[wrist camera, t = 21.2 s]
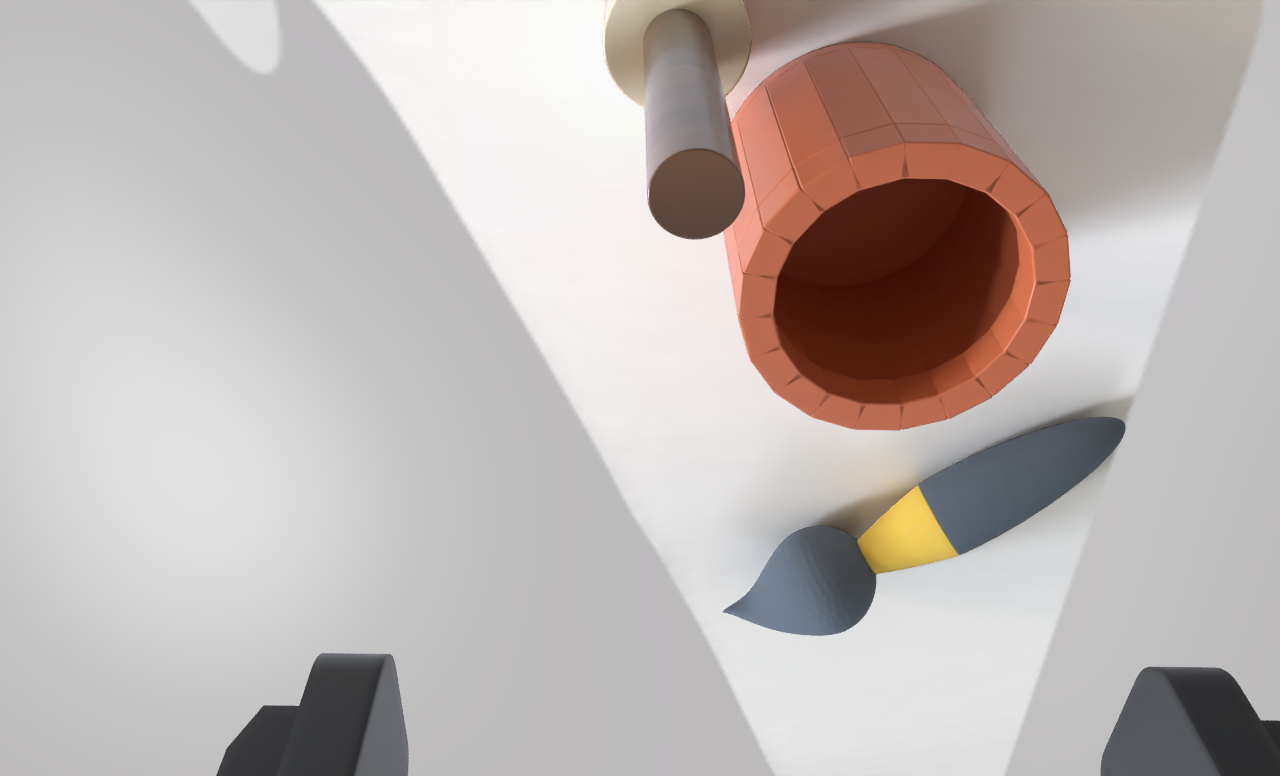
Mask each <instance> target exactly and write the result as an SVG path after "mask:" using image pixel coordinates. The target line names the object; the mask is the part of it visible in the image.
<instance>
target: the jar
mask: <svg viewBox="0 0 1280 776" xmlns="http://www.w3.org/2000/svg"><path fill="white" fill-rule="evenodd" d="M731 126H732V131H733V135H734V139H735V144H736V148H737V153H738V157H739V161H740V166H741V170H742V175H743V179H744V183H745V200H744V204H743V208H742V210H741V212H740V214H739V215H738V217H737V218H736V220H735V221H734V222H733V223H732V224H731V225H730V226H729V227H728V228H727V229H725V230H724V231H723V233H724V238H725V244H726V250H727V256H728V262H729V268H730V274H731V280H732V286H733V292H734V297H735V303H736V309H737V315H738V321H739V324H740V328H741V331H742V335H743V338H744V342H745V346H746V349H747V353H748V356H749V357H750V361H751V362H752V364H753V365H754V366H755V368H756V369H757V370H758V372H759V373H760V374H761V376H762V377H763V378H764V380H765V381H766V382H767V384H768V385H769V386H770V388H771V389H772V390H773V392H775V393H776V394H777V395H779V396H780V397H782V398H783V399H785V400H786V401H788V402H789V403H791V404H792V405H794V406H795V407H797V408H798V409H800V410H801V411H803V412H804V413H806V414H807V415H809V416H811V417H812V418H816V419H819V420H823V421H826V422H829V423H833V424H836V425H840V426H843V427H847V428H850V429H856V430H900V429H908V428H912V427H916V426H921V425H925V424H929V423H934V422H938V421H942V420H946V419H947V418H949V419H950V418H952V417H954V416H956V415H958V414H960V413H962V412H964V411H966V410H968V409H970V408H972V407H974V406H976V405H978V404H980V403H982V402H984V401H986V400H988V399H990V398H992V396H994V395H995V394H997V393H998V392H999V391H1000V390H1001V389H1002V388H1004V387H1005V386H1006V385H1007V384H1008V383H1009V382H1011V381H1012V380H1013V379H1014V378H1015V377H1016V376H1018V375H1019V374H1020V373H1021V372H1022V371H1023V370H1025V369H1026V368H1027V367H1028V366H1029V364H1031V363H1032V362H1033V360H1034V359H1035V357H1036V356H1037V354H1038V353H1039V351H1040V350H1041V348H1042V347H1043V346H1044V344H1045V343H1046V341H1047V340H1048V338H1049V337H1050V335H1051V334H1052V332H1053V331H1054V329H1055V328H1056V326H1057V324H1058V322H1059V318H1060V315H1061V312H1062V308H1063V305H1064V301H1065V298H1066V295H1067V291H1068V288H1069V285H1070V277H1071V275H1070V260H1069V245H1068V235H1067V230H1066V228H1065V226H1064V224H1063V222H1062V220H1061V218H1060V216H1059V214H1058V212H1057V210H1056V208H1055V206H1054V204H1053V202H1052V200H1051V198H1050V196H1049V194H1048V193H1047V192H1046V190H1045V189H1044V188H1043V186H1042V185H1041V184H1040V183H1039V182H1038V180H1037V179H1036V178H1035V177H1034V176H1033V174H1032V173H1031V172H1030V171H1029V170H1028V168H1027V167H1026V166H1025V165H1024V163H1023V162H1022V161H1021V160H1020V159H1019V157H1018V156H1017V155H1016V154H1015V153H1014V151H1013V150H1012V149H1011V148H1010V147H1009V145H1008V144H1007V143H1006V142H1005V141H1004V139H1003V138H1002V137H1001V136H1000V135H999V133H998V132H997V131H996V130H995V129H994V127H993V126H992V125H991V124H990V123H989V121H988V120H987V119H986V118H985V117H984V115H983V114H982V113H981V112H980V111H979V109H978V108H977V107H976V106H975V105H974V103H973V102H972V101H971V100H970V99H969V97H968V96H967V95H966V94H965V92H964V91H963V90H962V89H961V88H960V87H959V86H957V85H956V84H955V83H954V82H953V81H952V80H951V79H950V78H949V77H948V76H947V74H946V73H945V72H943V71H942V70H941V69H940V68H938V67H937V66H936V65H935V64H933V63H932V62H930V61H929V60H927V59H925V58H923V57H922V56H920V55H918V54H916V53H913V52H911V51H908V50H906V49H903V48H900V47H896V46H892V45H887V44H882V43H871V42H856V43H844V44H839V45H833V46H828V47H825V48H822V49H818V50H815V51H812V52H810V53H807V54H805V55H803V56H801V57H799V58H796V59H794V60H793V61H791V62H789V63H788V64H786V65H784V66H783V67H781V68H779V69H778V70H777V71H775V72H774V73H773V74H772V75H770V76H769V77H768V78H767V79H765V80H764V81H763V82H762V83H761V84H760V85H759V86H758V87H757V88H756V89H755V90H754V91H753V92H752V93H751V94H750V96H749V97H748V98H747V100H746V101H745V102H744V103H743V105H742V106H741V107H740V109H739V111H738V112H737V114H736V116H735V117H734V119H733V121H732V122H731Z"/></svg>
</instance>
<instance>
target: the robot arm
mask: <svg viewBox="0 0 1280 776" xmlns="http://www.w3.org/2000/svg"><path fill="white" fill-rule="evenodd" d="M217 776H408V741H407V734H406V728H405V722H404V716H403V709H402V703H401V697H400V691H399V684H398V678H397V672H396V666H395V661H394V658H393V656H392V655H391V654H338V653H337V654H334V653H322V654H320V655H319V656H318V657H317V658H316V660H315V662H314V664H313V666H312V669H311V672H310V675H309V678H308V681H307V684H306V687H305V690H304V693H303V697H302V699H301V703H300V705H299V706H263V707H262V708H261V709H260V710H259V712H258V713H257V714H256V715H255V716H254V718H253V719H252V720H251V721H250V722H249V723H248V724H247V726H246V727H245V728H244V729H243V730H242V731H241V733H240V734H239V735H238V736H237V737H236V738H235V739H234V741H233V742H232V743H231V744H230V745H229V746H228V748H227V750H226V752H225V755H224V757H223V760H222V763H221V765H220V768H219V771H218V773H217ZM1101 776H1280V721H1261V720H1260V719H1259V717H1258V715H1257V714H1256V712H1255V710H1254V709H1253V707H1252V706H1251V704H1250V702H1249V701H1248V699H1247V697H1246V696H1245V695H1244V693H1243V691H1242V689H1241V688H1240V686H1239V685H1238V683H1237V682H1236V680H1235V679H1234V678H1233V677H1232V676H1231V675H1230V674H1229V673H1228V672H1226V671H1225V670H1223V669H1220V668H1202V667H1199V668H1198V667H1147V668H1145V669H1143V670H1142V671H1141V672H1140V673H1139V675H1138V677H1137V678H1136V681H1135V683H1134V685H1133V687H1132V690H1131V692H1130V694H1129V696H1128V699H1127V701H1126V703H1125V705H1124V707H1123V710H1122V712H1121V714H1120V717H1119V719H1118V721H1117V723H1116V725H1115V728H1114V730H1113V732H1112V734H1111V737H1110V739H1109V741H1108V743H1107V745H1106V748H1105V750H1104V753H1103V756H1102V762H1101Z"/></svg>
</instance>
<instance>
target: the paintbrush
mask: <svg viewBox="0 0 1280 776" xmlns="http://www.w3.org/2000/svg"><path fill="white" fill-rule="evenodd" d="M1124 433H1125V424H1124V422H1123V421H1121V420H1120V419H1117V418H1112V417H1095V418H1087V419H1081V420H1075V421H1071V422H1067V423H1063V424H1059V425H1055V426H1052V427H1048V428H1045V429H1042V430H1039V431H1035V432H1032V433H1029V434H1027V435H1024V436H1021V437H1018V438H1015V439H1012V440H1010V441H1007V442H1004V443H1002V444H1000V445H997V446H995V447H992V448H990V449H987V450H985V451H982V452H980V453H978V454H976V455H974V456H971V457H969V458H967V459H965V460H963V461H961V462H958V463H956V464H954V465H952V466H951V467H949V468H947V469H945V470H943V471H941V472H939V473H937V474H935V475H933V476H932V477H930V478H928V479H926V480H924V481H923V482H921V483H920V484H919V485H917V486H916V487H914V488H913V489H912V490H911V491H909V492H908V493H907V494H906V495H905V496H904V497H902V498H901V499H900V500H899V501H898V502H897V503H895V504H894V505H893V506H892V507H891V508H890V509H889V510H888V511H887V512H886V513H884V514H883V515H882V516H881V517H880V518H879V519H878V520H877V521H876V522H875V523H874V524H873V525H872V526H871V527H870V528H869V529H868V530H867V531H866V532H865V533H864V534H863V535H862V536H861V537H860V538H859V539H858V540H857V539H855V538H854V537H853V536H851V535H849V534H848V533H846V532H843V531H841V530H838V529H835V528H831V527H823V526H816V527H808V528H804V529H801V530H799V531H797V532H795V533H793V534H791V535H790V536H789V537H787V538H786V539H785V540H784V541H783V542H782V543H781V544H780V545H779V547H778V548H777V549H776V550H775V552H774V553H773V555H772V556H771V558H770V559H769V561H768V563H767V564H766V566H765V568H764V569H763V571H762V573H761V575H760V576H759V578H758V580H757V581H756V583H755V584H754V586H753V587H752V588H751V590H750V591H749V592H748V593H747V594H746V595H745V596H744V597H742V598H741V599H740V600H738V601H737V602H736V603H734V604H732V605H731V606H729V607H728V608H726V609H725V610H724V611H723V612H724V613H728V614H732V615H735V616H737V617H740V618H742V619H745V620H747V621H749V622H752V623H755V624H757V625H760V626H763V627H766V628H769V629H773V630H777V631H781V632H786V633H792V634H800V635H813V636H822V635H832V634H837V633H841V632H843V631H846V630H848V629H850V628H851V627H853V626H854V625H856V624H857V623H858V622H859V621H860V620H861V619H862V618H863V617H864V615H865V614H866V613H867V611H868V609H869V607H870V606H871V603H872V601H873V598H874V594H875V589H876V574H879V573H885V572H890V571H895V570H901V569H906V568H910V567H915V566H919V565H924V564H928V563H932V562H936V561H940V560H944V559H948V558H952V557H955V556H958V555H961V554H964V553H966V552H968V551H970V550H972V549H974V548H976V547H978V546H980V545H982V544H984V543H986V542H988V541H990V540H992V539H994V538H996V537H998V536H1000V535H1001V534H1003V533H1005V532H1007V531H1008V530H1010V529H1012V528H1013V527H1015V526H1017V525H1019V524H1020V523H1022V522H1024V521H1025V520H1027V519H1028V518H1030V517H1031V516H1033V515H1035V514H1036V513H1038V512H1039V511H1041V510H1042V509H1044V508H1045V507H1047V506H1048V505H1050V504H1051V503H1053V502H1054V501H1055V500H1057V499H1058V498H1060V497H1061V496H1062V495H1064V494H1065V493H1066V492H1068V491H1069V490H1070V489H1072V488H1073V487H1074V486H1076V485H1077V484H1078V483H1080V482H1081V481H1082V480H1083V479H1084V478H1086V477H1087V476H1088V475H1089V474H1090V473H1092V472H1093V471H1094V470H1095V469H1096V468H1097V467H1098V466H1099V465H1100V464H1101V463H1102V462H1103V461H1104V460H1105V459H1106V458H1107V457H1108V456H1109V455H1110V454H1111V453H1112V452H1113V451H1114V449H1115V448H1116V447H1117V446H1118V444H1119V443H1120V441H1121V439H1122V438H1123V435H1124Z"/></svg>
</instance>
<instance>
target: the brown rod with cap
mask: <svg viewBox="0 0 1280 776" xmlns="http://www.w3.org/2000/svg"><path fill="white" fill-rule="evenodd" d="M751 45H752V33H751V24H750V20H749V16H748V13H747V10H746V7H745V5H744V2H743V0H606V5H605V17H604V28H603V53H604V58H605V62H606V65H607V68H608V71H609V73H610V75H611V77H612V79H613V81H614V82H615V84H616V85H617V87H618V88H619V89H620V90H621V91H622V93H623V94H624V95H625V96H626V97H628V98H629V99H630V100H631V101H632V102H634V103H635V104H637V105H638V106H640V107H642V108H644V109H645V131H646V166H647V199H648V205H649V208H650V211H651V213H652V215H653V217H654V219H655V220H656V221H657V223H658V224H659V225H660V226H661V227H662V228H664V229H665V230H666V231H668V232H669V233H671V234H673V235H675V236H678V237H681V238H686V239H704V238H708V237H712V236H714V235H717V234H719V233H721V232H722V231H724V230H725V229H727V228H728V227H729V226H730V225H731V224H732V223H733V222H734V221H735V220H736V218H737V217H738V215H739V214H740V212H741V210H742V208H743V204H744V200H745V183H744V179H743V175H742V170H741V166H740V161H739V157H738V153H737V148H736V144H735V139H734V135H733V131H732V126H731V122H730V118H729V113H728V109H727V104H726V100H725V97H726V96H727V95H728V94H729V93H730V92H731V91H732V90H733V88H734V87H735V86H736V84H737V83H738V82H739V80H740V78H741V77H742V75H743V73H744V71H745V69H746V66H747V64H748V60H749V57H750V52H751Z"/></svg>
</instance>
